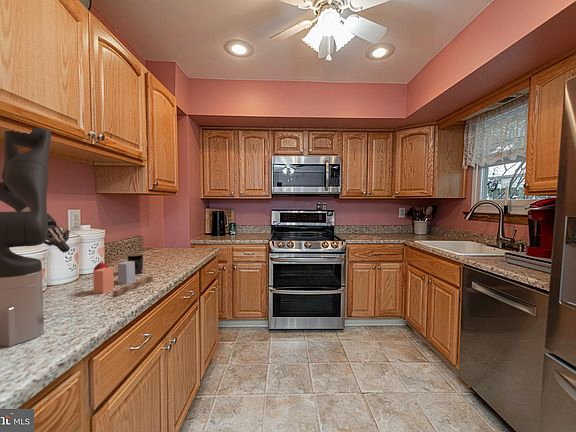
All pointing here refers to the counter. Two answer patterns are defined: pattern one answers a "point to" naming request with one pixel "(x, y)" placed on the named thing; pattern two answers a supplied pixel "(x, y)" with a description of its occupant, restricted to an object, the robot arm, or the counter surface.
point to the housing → (132, 286)
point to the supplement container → (136, 262)
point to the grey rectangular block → (126, 272)
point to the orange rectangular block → (103, 280)
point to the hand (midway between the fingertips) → (66, 250)
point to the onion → (100, 266)
